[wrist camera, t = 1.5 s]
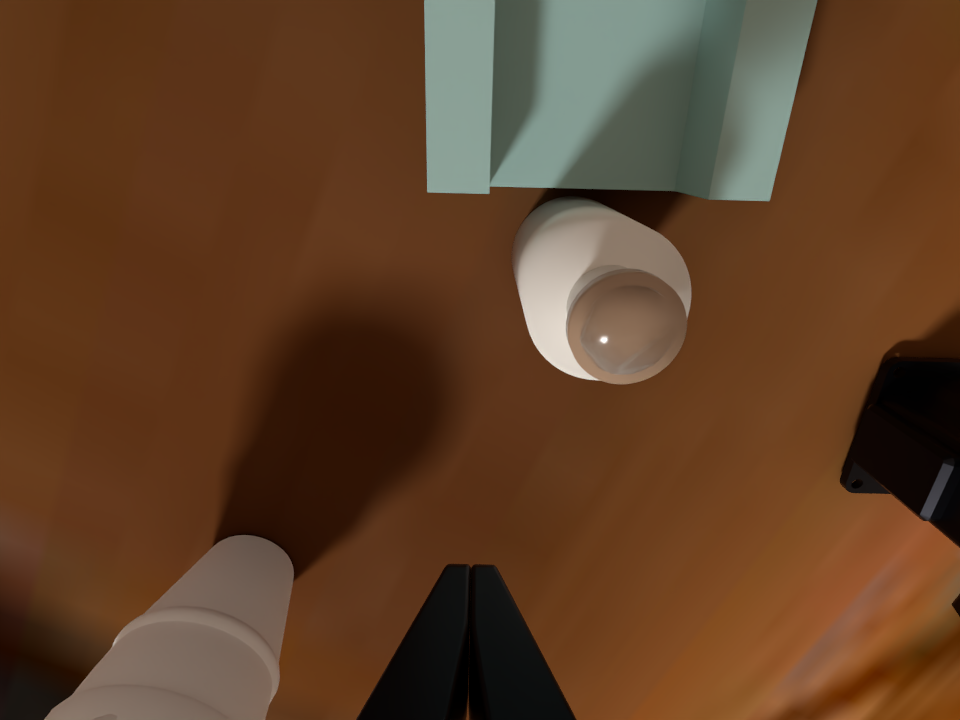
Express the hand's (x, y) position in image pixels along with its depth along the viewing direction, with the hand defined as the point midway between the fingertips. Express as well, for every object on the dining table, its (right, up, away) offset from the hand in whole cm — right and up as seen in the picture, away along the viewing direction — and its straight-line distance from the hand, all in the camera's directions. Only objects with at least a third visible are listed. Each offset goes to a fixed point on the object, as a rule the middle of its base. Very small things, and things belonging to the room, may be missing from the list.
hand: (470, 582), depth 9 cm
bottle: (+4, +8, +11) cm, 14 cm away
